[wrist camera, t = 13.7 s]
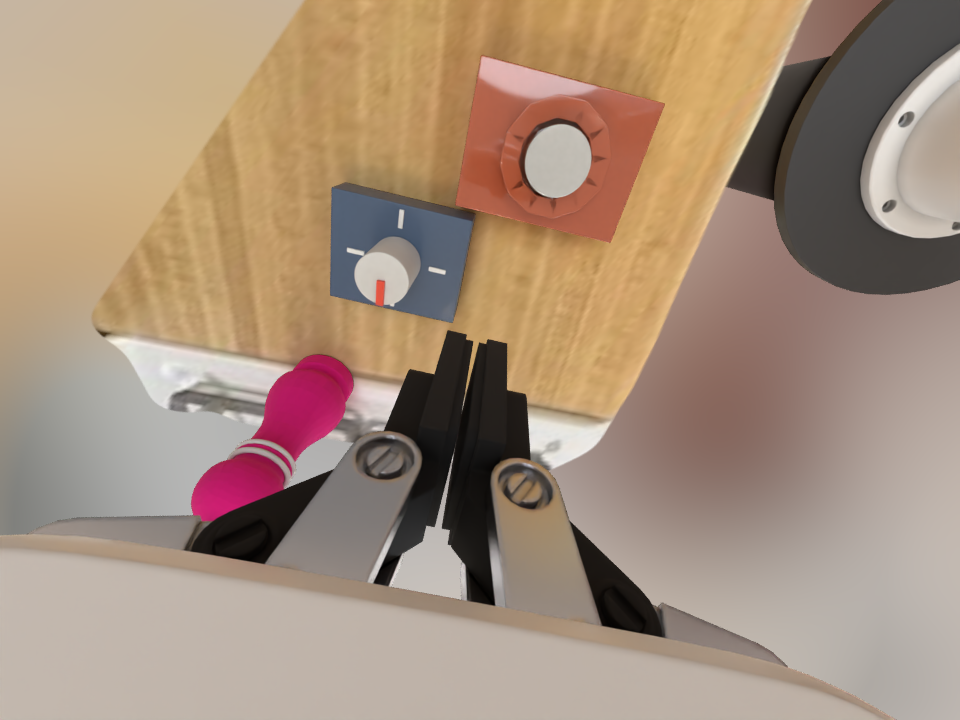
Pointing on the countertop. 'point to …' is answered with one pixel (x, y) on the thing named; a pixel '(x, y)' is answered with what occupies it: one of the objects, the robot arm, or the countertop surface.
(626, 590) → the robot arm
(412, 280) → the grey dial knob
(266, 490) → the pepper mill
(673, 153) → the countertop surface
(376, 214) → the tap panel
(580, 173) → the push button
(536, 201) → the orange button housing
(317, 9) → the countertop surface
